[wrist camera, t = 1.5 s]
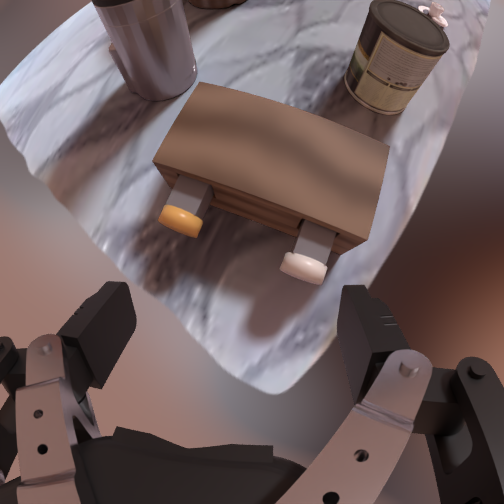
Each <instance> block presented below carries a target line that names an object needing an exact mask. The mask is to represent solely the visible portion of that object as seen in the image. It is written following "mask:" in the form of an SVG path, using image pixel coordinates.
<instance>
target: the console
mask: <svg viewBox="0 0 504 504" xmlns="http://www.w3.org/2000/svg"><path fill="white" fill-rule="evenodd" d="M389 148H390V146H388V145H386V144H384V143H382V142H380V141H378V140H375V139H373V138H371V137H369V136H367V135H364V134H362V133H360V132H357V131H355V130H353V129H350V128H348V127H346V126H343V125H341V124H338V123H336V122H333V121H331V120H328V119H325V118H323V117H320V116H317V115H315V114H312V113H309V112H306V111H304V110H301V109H298V108H295V107H292V106H289V105H286V104H283V103H280V102H276V101H273V100H270V99H266V98H263V97H260V96H256V95H253V94H249V93H245V92H242V91H238V90H234V89H230V88H226V87H222V86H217V85H213V84H208V83H204V82H199V83H198V85H197V86H196V88H195V89H194V91H193V93H192V94H191V96H190V97H189V99H188V100H187V102H186V103H185V105H184V107H183V108H182V110H181V111H180V113H179V115H178V116H177V118H176V120H175V121H174V123H173V125H172V126H171V128H170V130H169V132H168V133H167V135H166V137H165V139H164V140H163V142H162V144H161V146H160V147H159V149H158V151H157V153H156V155H155V157H154V158H153V160H152V162H153V163H154V164H155V166H156V167H157V169H158V170H159V172H160V173H161V175H162V176H163V178H164V179H165V180H166V182H167V183H168V185H169V186H170V188H171V189H173V187H174V185H175V183H176V181H177V179H178V177H179V175H180V174H181V175H184V176H187V177H190V178H193V179H196V180H199V181H202V182H204V183H207V184H210V185H212V188H213V191H214V195H213V198H212V200H211V202H210V204H209V205H212V206H215V207H217V208H220V209H223V210H226V211H228V212H231V213H234V214H236V215H239V216H242V217H244V218H247V219H250V220H253V221H255V222H258V223H260V224H263V225H266V226H268V227H271V228H274V229H276V230H279V231H281V232H284V233H287V234H289V235H292V236H294V237H297V234H298V231H299V228H300V226H301V223H302V220H303V219H305V220H308V221H311V222H313V223H316V224H318V225H321V226H323V227H326V228H328V229H331V230H333V231H335V232H337V233H336V236H335V239H334V242H333V245H332V248H331V251H333V252H335V253H338V254H340V255H342V254H343V253H345V252H347V251H349V250H351V249H353V248H354V247H356V246H358V245H360V244H361V243H363V242H365V241H367V240H368V237H369V233H370V230H371V226H372V222H373V219H374V215H375V211H376V207H377V203H378V199H379V195H380V191H381V186H382V182H383V177H384V173H385V168H386V163H387V159H388V154H389Z"/></svg>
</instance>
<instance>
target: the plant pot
mask: <svg viewBox="0 0 504 504" xmlns="http://www.w3.org/2000/svg"><path fill="white" fill-rule="evenodd" d="M188 1H189V2H191V3H192V4H193V6H196V7H199V8H207V9H217V8H226V7H230V6H231V5H232V4H236V3H237V4H240V3H242V2H244V1H246V0H188Z"/></svg>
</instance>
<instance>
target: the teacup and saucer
mask: <svg viewBox="0 0 504 504" xmlns="http://www.w3.org/2000/svg"><path fill="white" fill-rule="evenodd" d="M418 9H419V10H420V11H421V12H423V9H427V10H429V15H430V16H431V17H432V20H434V21H435V22H436V23H437V24H438V25H439V26H441V27H446V26H448V23H447V21H446V20H445V19H444V18H443V17H442V16H441V14H442V12H443V11H444V8H443V7H442V6H440V5H439V4H437V3H435V2H432V4H431V7H430V8H428V7H425V6H419V7H418ZM423 13H424V12H423ZM438 17H440V18H441V19H442V20H441V19H439V18H438Z"/></svg>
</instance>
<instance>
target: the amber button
mask: <svg viewBox="0 0 504 504" xmlns="http://www.w3.org/2000/svg"><path fill="white" fill-rule="evenodd" d="M213 195H214V191H213V188H212V185H210V184H207V183H204V182H202V181H199V180H196V179H193V178H190V177H187V176H184V175H181V174H180V175H179V177H178V179H177V181H176V183H175V185H174V187H173V189H172V192H171V194H170V196H169V198H168V200H167V202H166V205H164V208H163V210H162V212H161V214H160V216H159V219H158V222H160V223H161V224H163V225H164V226H166V227H168V228H170V229H172V230H174V231H176V232H179V233H181V234H184V235H186V236H190V237H193V238H197V236H198V234H199V231H200V229H201V227H202V225H203V221H202V220H203V218H204V215H205V213H206V211H207V209H208V206H209V204H210V202H211V200H212V198H213Z"/></svg>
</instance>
